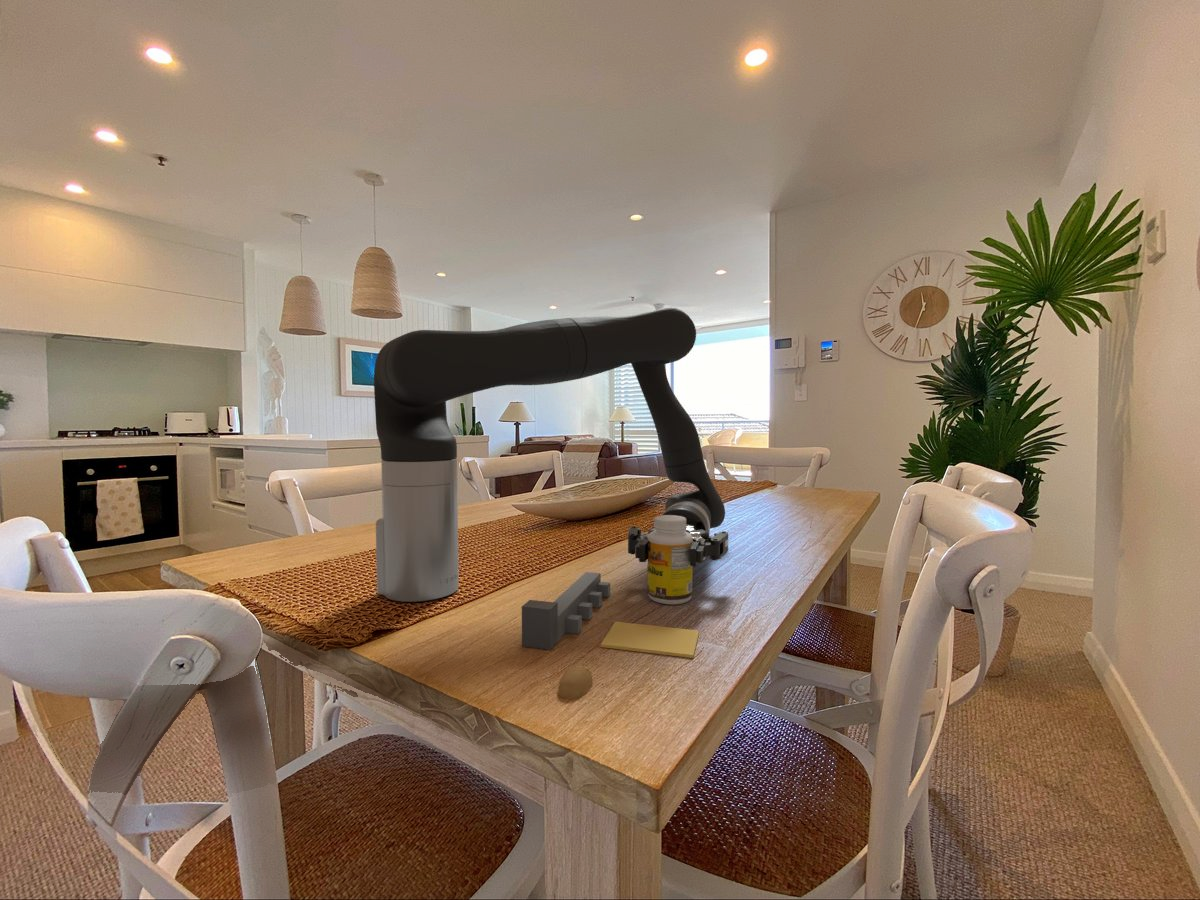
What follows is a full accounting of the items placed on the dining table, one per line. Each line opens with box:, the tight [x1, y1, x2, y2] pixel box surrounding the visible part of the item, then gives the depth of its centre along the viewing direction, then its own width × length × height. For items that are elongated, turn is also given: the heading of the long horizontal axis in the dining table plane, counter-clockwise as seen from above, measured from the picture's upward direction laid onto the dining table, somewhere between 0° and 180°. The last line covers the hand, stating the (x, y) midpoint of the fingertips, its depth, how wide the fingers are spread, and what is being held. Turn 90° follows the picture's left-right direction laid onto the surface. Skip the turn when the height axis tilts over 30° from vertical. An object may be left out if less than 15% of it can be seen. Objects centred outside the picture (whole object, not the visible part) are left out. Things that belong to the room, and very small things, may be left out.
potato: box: [557, 665, 594, 700], centre depth 44 cm, size 3×4×2 cm, turn 157°
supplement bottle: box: [647, 515, 694, 605], centre depth 66 cm, size 6×6×10 cm
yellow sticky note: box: [600, 621, 700, 659], centre depth 53 cm, size 9×6×1 cm, turn 74°
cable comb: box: [521, 571, 611, 651], centre depth 60 cm, size 4×18×4 cm, turn 164°
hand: (667, 555), depth 63 cm, fingers closed on supplement bottle, 5 cm apart
